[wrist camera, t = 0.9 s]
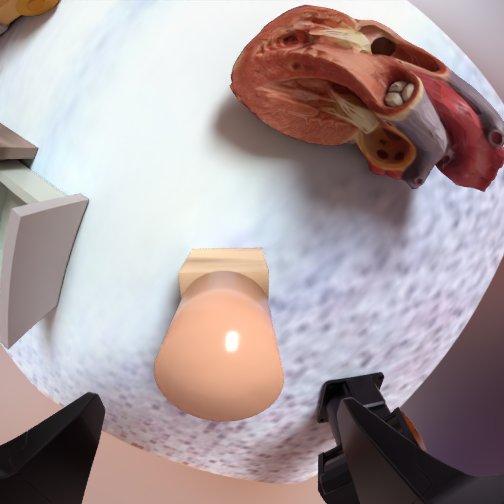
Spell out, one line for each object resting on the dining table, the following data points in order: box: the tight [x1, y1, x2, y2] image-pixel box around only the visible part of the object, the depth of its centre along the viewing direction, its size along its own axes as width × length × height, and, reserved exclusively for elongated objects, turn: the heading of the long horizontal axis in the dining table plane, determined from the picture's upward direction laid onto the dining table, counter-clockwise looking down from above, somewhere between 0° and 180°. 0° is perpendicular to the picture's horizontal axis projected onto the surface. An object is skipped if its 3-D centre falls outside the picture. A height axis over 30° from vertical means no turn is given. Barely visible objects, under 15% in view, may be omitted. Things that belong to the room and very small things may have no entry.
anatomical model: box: [230, 5, 504, 192], centre depth 13 cm, size 11×13×15 cm
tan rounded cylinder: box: [154, 271, 284, 421], centre depth 13 cm, size 5×5×6 cm
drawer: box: [0, 160, 89, 349], centre depth 14 cm, size 10×11×8 cm
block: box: [179, 248, 269, 300], centre depth 18 cm, size 5×5×5 cm
